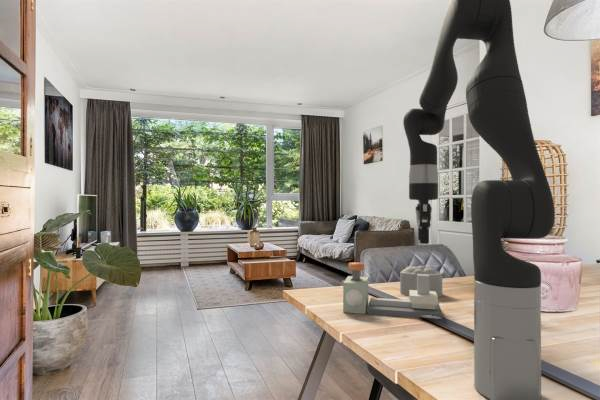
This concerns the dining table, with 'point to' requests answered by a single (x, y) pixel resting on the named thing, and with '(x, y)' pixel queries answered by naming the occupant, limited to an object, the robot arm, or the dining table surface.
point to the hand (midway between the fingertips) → (423, 241)
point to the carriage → (423, 294)
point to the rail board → (399, 308)
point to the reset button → (356, 270)
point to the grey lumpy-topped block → (410, 279)
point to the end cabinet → (355, 295)
